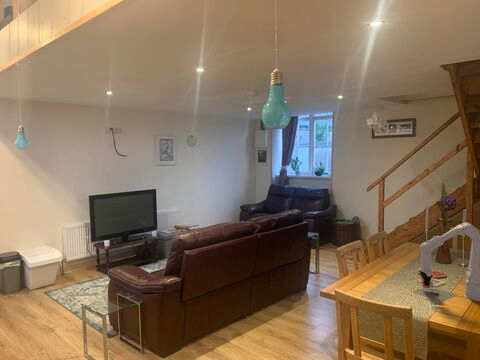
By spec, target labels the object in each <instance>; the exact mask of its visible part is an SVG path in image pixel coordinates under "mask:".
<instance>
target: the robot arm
mask: <svg viewBox="0 0 480 360" xmlns="http://www.w3.org/2000/svg"><path fill="white" fill-rule="evenodd" d="M464 234H465V235H466V236H468V237H469V238H470V239H471V245H470V254H469V262H468V266H467V270H465V273H464V275H465V277H466V280H465V294H463V296H464V297H465V298H466V299H469V300H472V301H475V302H480V232H479V230H478V228H476V227H475V226H474V225H473V224H471V223H470V222H466V221H465V222H462V223H460V224H458V225H456V226H455V227H453V228H451V229H450V230H449V231H447V232H445V233H443V234H442V235H436V236H435V235H434V236H432V238H431V239H429V240H426V241H425V242H424V241H423V242H422V243H421V244H420V246H419V249H420V250H421V252H420V268H418V272H419V273H420V275H421V277H423V278H424V284H425V286H429V284H430V280H431V278H434V277H433V276H434V275H433V274H432V252H433V250H435V249H438V248H439V247H440V246H441V247H442V245H444V244H445V241H447V240H450V239H452V238H454V237H455V236H465V235H464Z"/></svg>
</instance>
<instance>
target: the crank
mask: <svg viewBox="0 0 480 360" xmlns="http://www.w3.org/2000/svg"><path fill="white" fill-rule="evenodd" d="M433 284H434V281H430V290H431V293H432V294H436V295H437V294H439V290H437V289H438V288H437V289H435V288H436V287H434V286H433Z"/></svg>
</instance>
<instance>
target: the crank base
mask: <svg viewBox="0 0 480 360" xmlns="http://www.w3.org/2000/svg"><path fill="white" fill-rule="evenodd" d="M435 289H437V290H439V294H437V295H436V294H432V293H431V290H430V288H423V287H422V288H419V289H417V290H414V291H412V293H413V294H416V295H419V296H422V297H425V298H428V299H430V300H434V301H437V302H439V303H443V302H446V301H447V300H450V299H452V298H455V297H457V296H458V294H456V293H453V292H450V291H447V290H444V289H439V288H438V287H435Z"/></svg>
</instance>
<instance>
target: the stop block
mask: <svg viewBox="0 0 480 360" xmlns="http://www.w3.org/2000/svg"><path fill="white" fill-rule="evenodd" d="M420 280H421V287H422V288H430V284H429V286H425V284H424V278H423V277H421V279H420Z"/></svg>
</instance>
